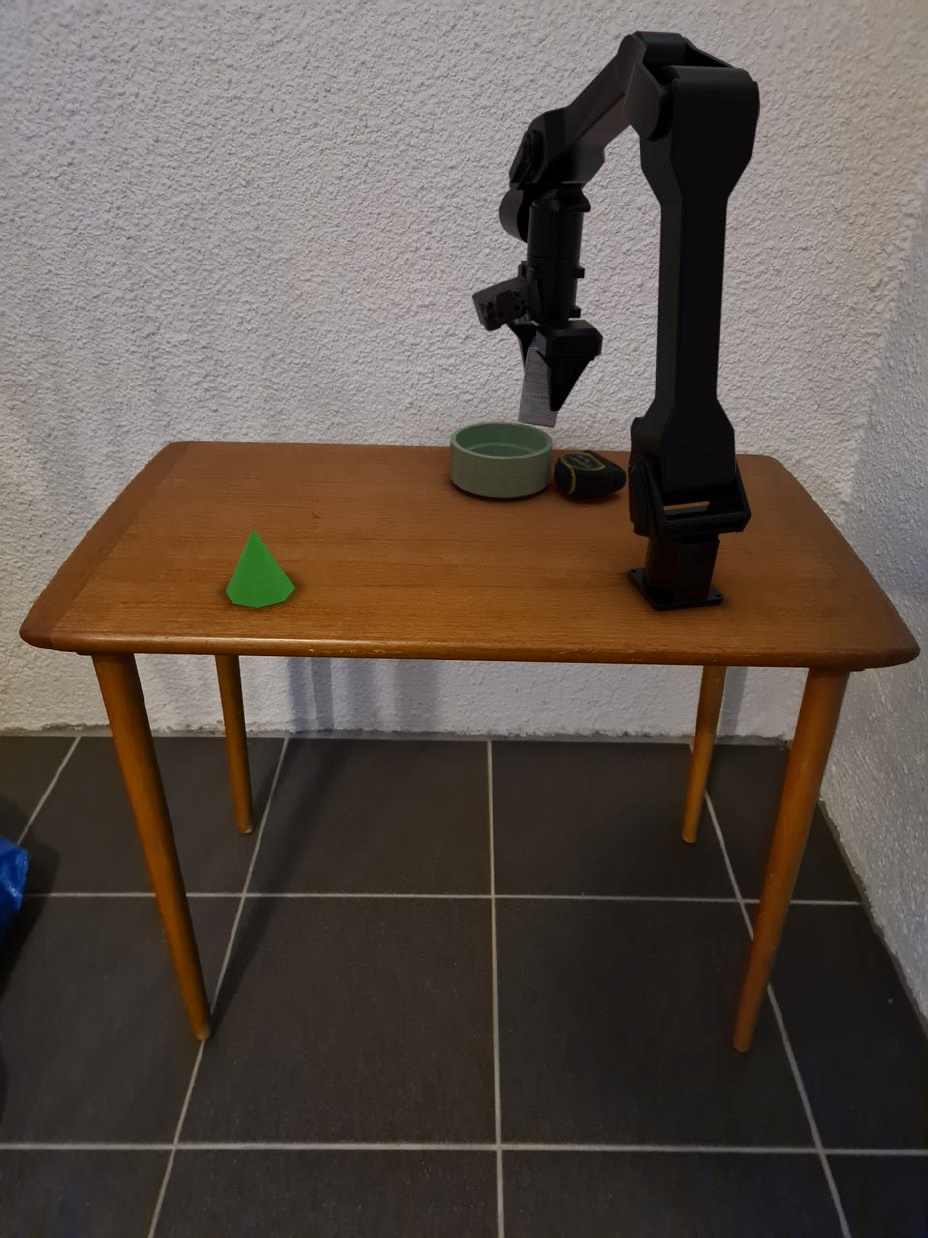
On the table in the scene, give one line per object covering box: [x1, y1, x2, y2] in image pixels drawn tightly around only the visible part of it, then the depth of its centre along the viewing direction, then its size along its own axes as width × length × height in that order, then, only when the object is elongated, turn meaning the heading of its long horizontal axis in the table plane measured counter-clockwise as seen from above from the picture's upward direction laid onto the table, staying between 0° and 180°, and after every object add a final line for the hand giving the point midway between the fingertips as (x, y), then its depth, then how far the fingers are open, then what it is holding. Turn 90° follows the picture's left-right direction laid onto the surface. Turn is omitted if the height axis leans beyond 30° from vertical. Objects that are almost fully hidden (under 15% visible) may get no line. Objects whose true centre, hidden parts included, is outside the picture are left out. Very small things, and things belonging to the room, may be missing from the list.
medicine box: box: [517, 336, 559, 429], centre depth 96 cm, size 8×4×9 cm, turn 171°
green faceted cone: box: [225, 528, 296, 609], centre depth 71 cm, size 6×6×6 cm
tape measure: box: [553, 449, 628, 499], centre depth 90 cm, size 7×7×4 cm
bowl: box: [449, 421, 554, 499], centre depth 92 cm, size 11×11×5 cm
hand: (542, 397), depth 97 cm, fingers closed on medicine box, 9 cm apart
